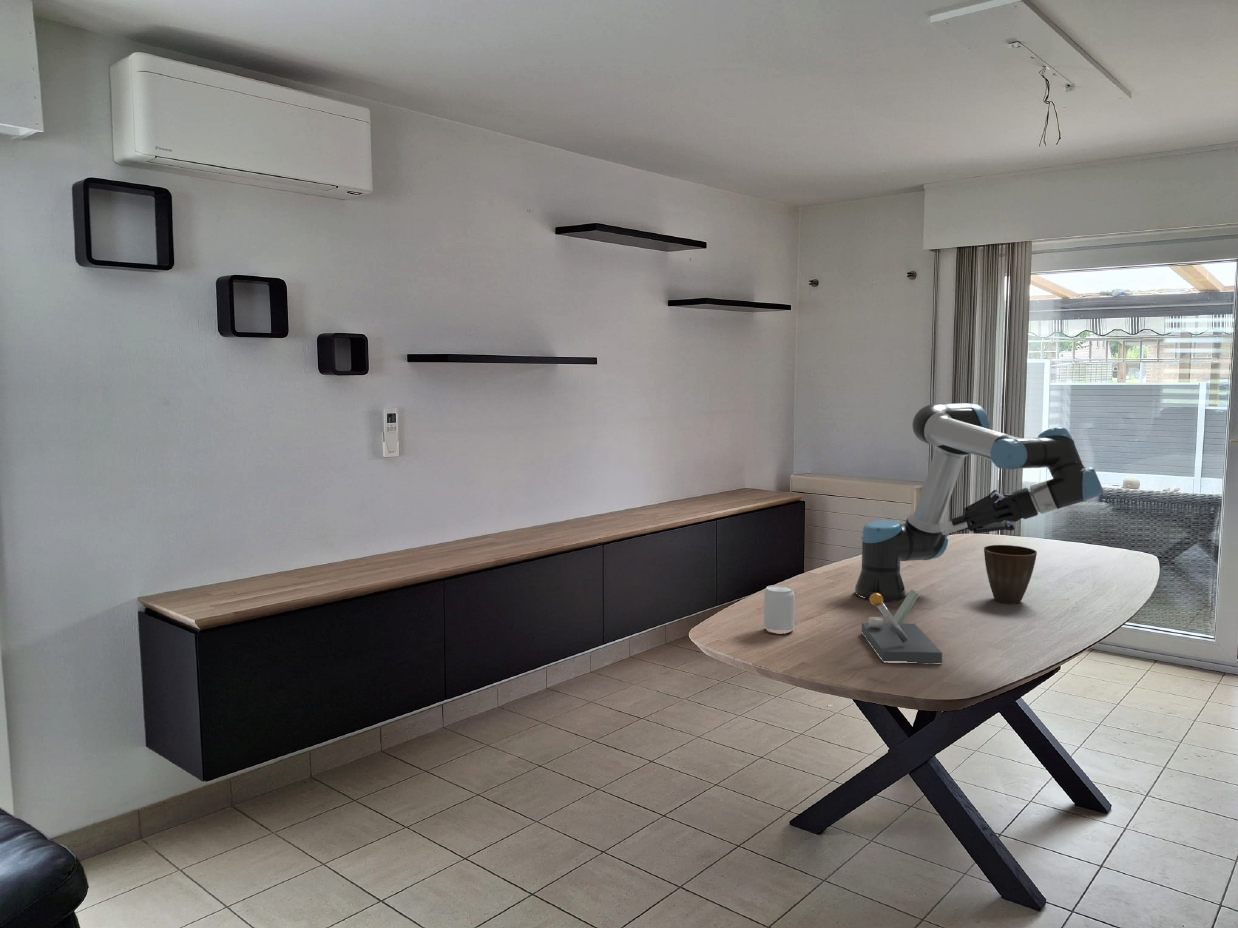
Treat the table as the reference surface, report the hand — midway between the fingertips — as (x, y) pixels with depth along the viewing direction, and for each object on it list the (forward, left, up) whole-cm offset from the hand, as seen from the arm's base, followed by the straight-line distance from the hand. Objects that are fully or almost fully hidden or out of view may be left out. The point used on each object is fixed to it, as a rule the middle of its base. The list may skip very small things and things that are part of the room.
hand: (941, 529), depth 231 cm
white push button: (-2, -18, -26) cm, 31 cm away
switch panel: (+6, -16, -29) cm, 33 cm away
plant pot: (-24, +43, -29) cm, 57 cm away
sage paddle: (-1, -13, -25) cm, 29 cm away
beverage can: (-16, -39, -29) cm, 51 cm away
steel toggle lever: (+13, -18, -25) cm, 34 cm away
